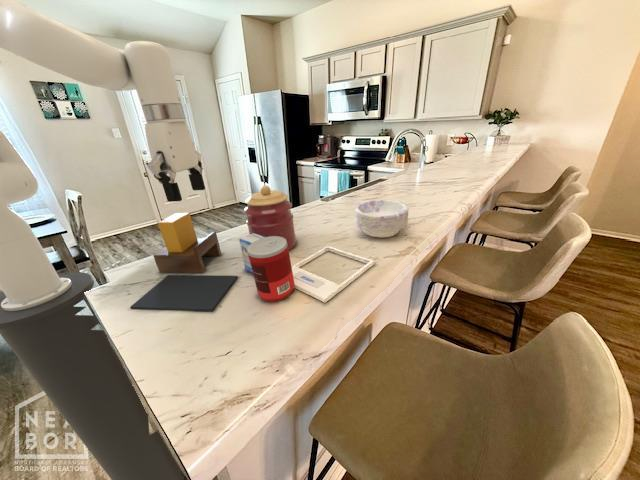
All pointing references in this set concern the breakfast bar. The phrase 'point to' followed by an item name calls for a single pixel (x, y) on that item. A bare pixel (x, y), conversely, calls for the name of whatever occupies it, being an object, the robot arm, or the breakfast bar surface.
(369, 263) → the photo frame
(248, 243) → the medicine box
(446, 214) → the breakfast bar surface
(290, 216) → the kitchen canister
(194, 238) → the tea packet
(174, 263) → the shelf stand
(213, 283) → the counter mat
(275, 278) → the canned food
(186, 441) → the breakfast bar surface
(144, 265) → the breakfast bar surface
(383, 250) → the breakfast bar surface
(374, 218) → the white purple bowl
